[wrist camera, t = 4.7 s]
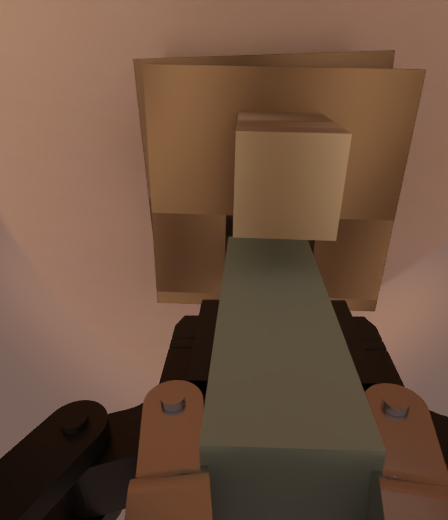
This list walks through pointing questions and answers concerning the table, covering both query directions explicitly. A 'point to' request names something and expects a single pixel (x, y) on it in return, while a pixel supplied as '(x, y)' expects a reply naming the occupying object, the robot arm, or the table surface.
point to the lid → (276, 169)
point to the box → (279, 60)
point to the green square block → (284, 394)
